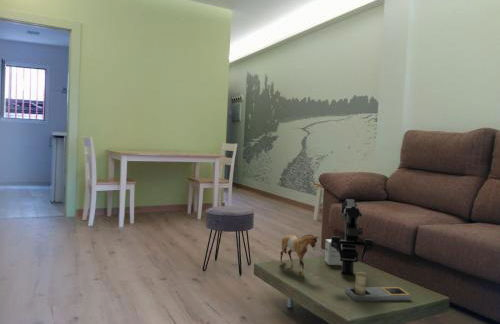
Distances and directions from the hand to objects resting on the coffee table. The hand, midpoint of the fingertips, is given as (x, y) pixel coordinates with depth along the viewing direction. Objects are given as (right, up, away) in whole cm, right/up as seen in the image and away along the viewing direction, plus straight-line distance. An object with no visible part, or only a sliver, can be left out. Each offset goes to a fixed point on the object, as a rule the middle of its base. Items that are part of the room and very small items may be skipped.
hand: (351, 259), depth 180 cm
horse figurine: (-21, -12, +29) cm, 37 cm away
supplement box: (0, -12, +42) cm, 44 cm away
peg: (+2, -14, -7) cm, 16 cm away
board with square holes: (+10, -14, -6) cm, 18 cm away
